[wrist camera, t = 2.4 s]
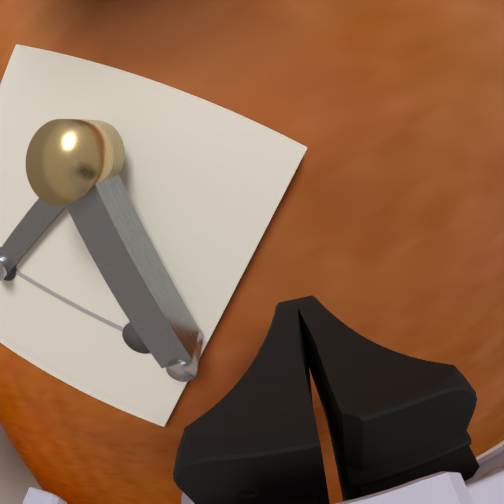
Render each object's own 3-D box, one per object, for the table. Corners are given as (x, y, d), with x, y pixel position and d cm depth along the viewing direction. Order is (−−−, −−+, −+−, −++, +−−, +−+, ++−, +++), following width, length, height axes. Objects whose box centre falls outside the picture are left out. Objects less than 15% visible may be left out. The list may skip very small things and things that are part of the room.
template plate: (166, 416, 20) (162, 433, 19) (-20, 317, 18) (-30, 327, 16) (303, 146, 14) (309, 148, 13) (25, 47, 12) (9, 42, 10)
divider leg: (59, 141, 12) (15, 147, 9) (112, 107, 12) (74, 101, 9) (170, 353, 16) (157, 396, 13) (224, 336, 16) (219, 382, 13)
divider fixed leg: (86, 150, 13) (73, 153, 12) (101, 172, 14) (90, 176, 12) (-6, 261, 15) (-17, 268, 14) (6, 278, 16) (-5, 286, 14)
